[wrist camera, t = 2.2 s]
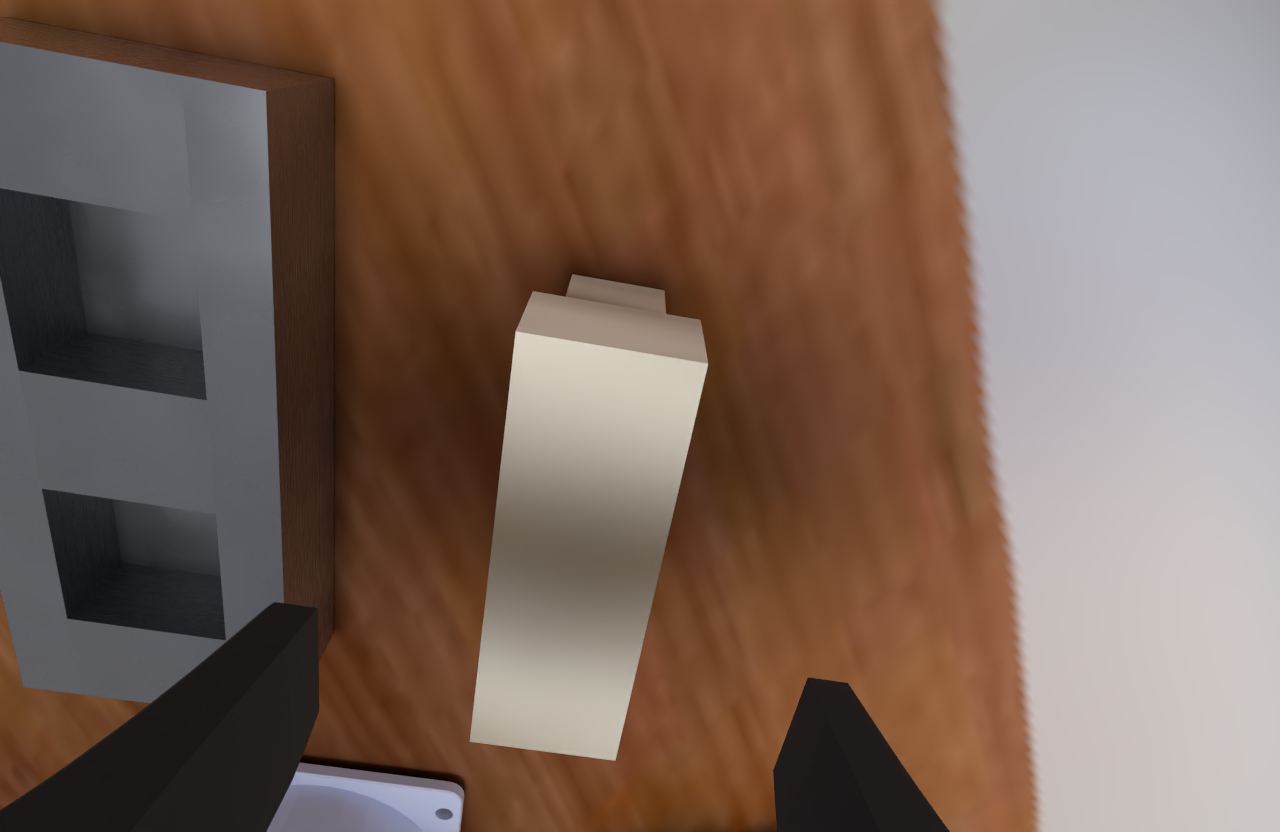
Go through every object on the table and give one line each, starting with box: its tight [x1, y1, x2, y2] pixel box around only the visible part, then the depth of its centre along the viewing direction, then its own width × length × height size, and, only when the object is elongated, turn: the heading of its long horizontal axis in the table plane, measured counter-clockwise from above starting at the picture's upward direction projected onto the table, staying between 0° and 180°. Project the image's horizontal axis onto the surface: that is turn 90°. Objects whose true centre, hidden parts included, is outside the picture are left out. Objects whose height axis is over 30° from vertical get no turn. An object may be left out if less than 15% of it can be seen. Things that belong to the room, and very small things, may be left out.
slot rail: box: [0, 17, 334, 703], centre depth 17 cm, size 14×6×3 cm, turn 170°
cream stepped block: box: [470, 274, 708, 761], centre depth 16 cm, size 9×3×5 cm, turn 170°
